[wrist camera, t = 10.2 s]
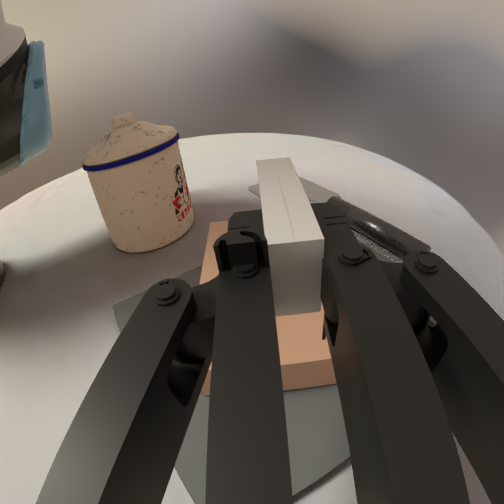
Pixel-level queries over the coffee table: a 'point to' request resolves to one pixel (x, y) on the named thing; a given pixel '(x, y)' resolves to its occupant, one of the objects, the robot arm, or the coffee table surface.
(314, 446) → the mat
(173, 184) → the teacup with lid
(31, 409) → the coffee table surface
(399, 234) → the turner
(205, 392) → the tile
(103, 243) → the coffee table surface
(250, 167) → the coffee table surface
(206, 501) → the robot arm
